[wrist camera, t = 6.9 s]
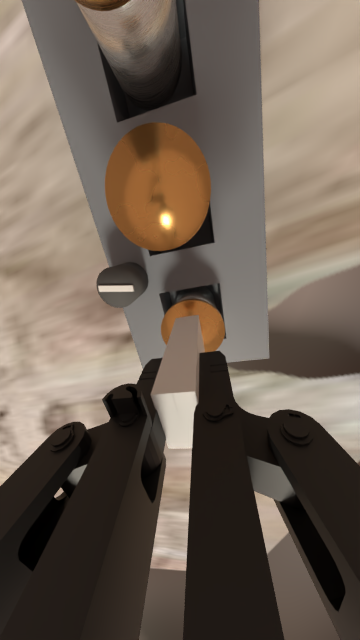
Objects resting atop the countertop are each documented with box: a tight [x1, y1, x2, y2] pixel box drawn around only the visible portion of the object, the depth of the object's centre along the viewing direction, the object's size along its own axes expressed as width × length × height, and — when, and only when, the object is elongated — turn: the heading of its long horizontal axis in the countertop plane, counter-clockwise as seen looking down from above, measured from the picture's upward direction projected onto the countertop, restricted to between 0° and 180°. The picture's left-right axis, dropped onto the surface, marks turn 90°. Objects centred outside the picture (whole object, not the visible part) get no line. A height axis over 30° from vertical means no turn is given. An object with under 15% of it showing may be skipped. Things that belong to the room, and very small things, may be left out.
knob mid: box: [105, 122, 211, 251], centre depth 11 cm, size 5×5×7 cm
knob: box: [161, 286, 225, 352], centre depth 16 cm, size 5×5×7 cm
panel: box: [22, 0, 269, 369], centre depth 16 cm, size 26×12×6 cm, turn 11°
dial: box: [97, 262, 149, 308], centre depth 14 cm, size 3×3×3 cm
